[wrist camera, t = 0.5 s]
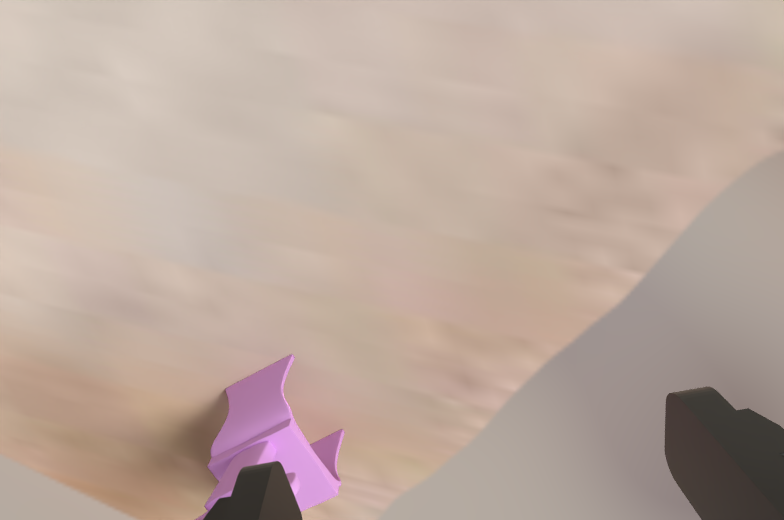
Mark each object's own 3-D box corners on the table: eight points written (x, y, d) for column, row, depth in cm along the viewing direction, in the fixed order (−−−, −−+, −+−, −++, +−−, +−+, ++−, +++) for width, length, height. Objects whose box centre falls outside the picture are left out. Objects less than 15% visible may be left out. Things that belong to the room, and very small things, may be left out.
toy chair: (273, 473, 41) (221, 661, 27) (214, 394, 39) (123, 553, 25) (358, 430, 41) (352, 601, 26) (303, 347, 38) (263, 484, 24)
